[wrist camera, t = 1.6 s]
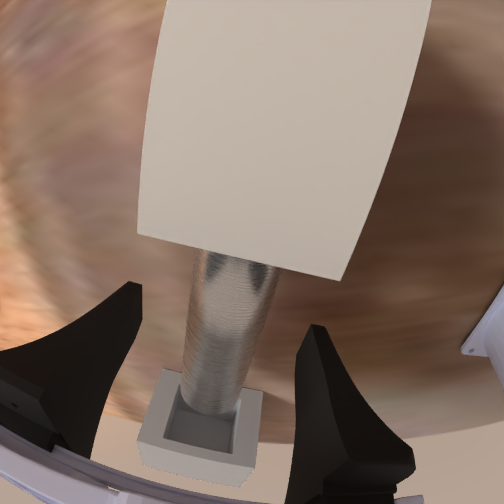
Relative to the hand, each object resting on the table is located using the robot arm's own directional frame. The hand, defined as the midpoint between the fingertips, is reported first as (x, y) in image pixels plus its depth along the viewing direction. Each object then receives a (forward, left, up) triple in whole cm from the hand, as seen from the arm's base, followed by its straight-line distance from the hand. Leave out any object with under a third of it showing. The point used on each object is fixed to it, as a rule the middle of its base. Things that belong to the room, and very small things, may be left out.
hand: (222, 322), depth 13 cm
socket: (0, +14, -5) cm, 15 cm away
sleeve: (0, -9, -5) cm, 10 cm away
